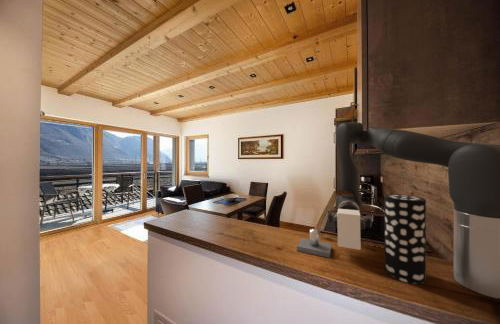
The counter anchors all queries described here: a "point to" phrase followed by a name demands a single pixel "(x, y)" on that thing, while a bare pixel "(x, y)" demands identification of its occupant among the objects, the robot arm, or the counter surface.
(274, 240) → the counter surface
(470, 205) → the robot arm
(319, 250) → the base plate
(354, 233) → the block
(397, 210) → the white-spotted black cylinder
